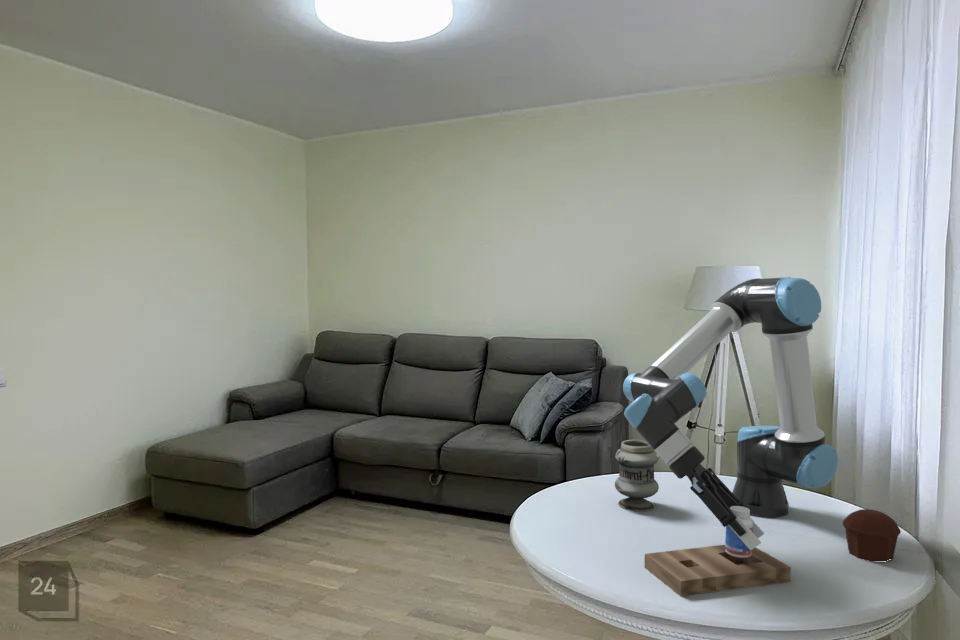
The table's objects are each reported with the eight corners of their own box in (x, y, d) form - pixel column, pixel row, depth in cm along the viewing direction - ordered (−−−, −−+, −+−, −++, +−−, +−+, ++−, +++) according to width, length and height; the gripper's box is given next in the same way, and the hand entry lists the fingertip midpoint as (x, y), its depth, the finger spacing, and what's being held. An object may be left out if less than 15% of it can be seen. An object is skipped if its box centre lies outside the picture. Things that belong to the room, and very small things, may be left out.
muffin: (866, 566, 142) (868, 521, 142) (830, 547, 153) (831, 505, 153) (912, 562, 145) (913, 518, 144) (873, 543, 155) (874, 502, 155)
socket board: (746, 555, 148) (746, 542, 148) (790, 581, 135) (790, 567, 135) (644, 567, 141) (644, 553, 141) (680, 596, 128) (680, 581, 128)
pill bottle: (749, 560, 136) (750, 514, 135) (722, 554, 138) (723, 509, 138) (754, 551, 140) (755, 507, 140) (728, 546, 143) (729, 503, 143)
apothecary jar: (608, 507, 181) (609, 444, 180) (622, 496, 191) (623, 436, 191) (651, 515, 175) (651, 449, 174) (663, 503, 185) (664, 441, 184)
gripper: (677, 456, 154) (749, 537, 147) (657, 474, 138) (737, 566, 131) (701, 437, 151) (775, 518, 144) (683, 453, 135) (766, 546, 128)
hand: (757, 541), depth 137 cm, fingers closed on pill bottle, 5 cm apart
